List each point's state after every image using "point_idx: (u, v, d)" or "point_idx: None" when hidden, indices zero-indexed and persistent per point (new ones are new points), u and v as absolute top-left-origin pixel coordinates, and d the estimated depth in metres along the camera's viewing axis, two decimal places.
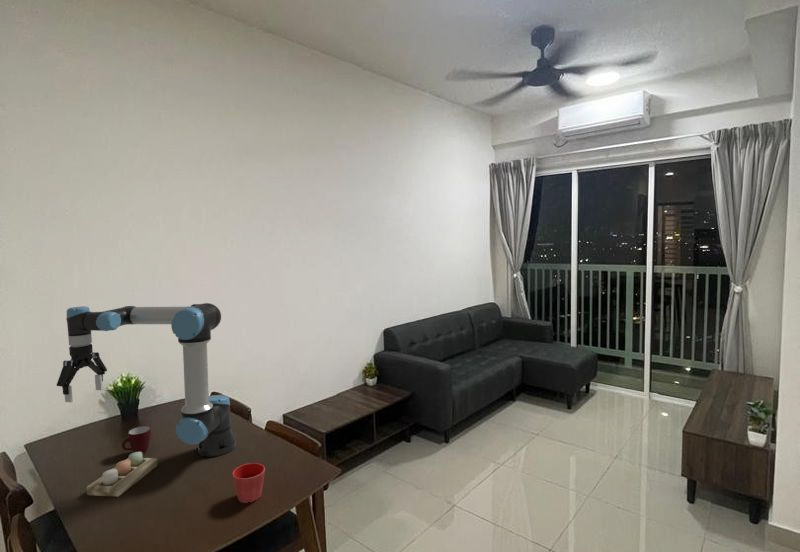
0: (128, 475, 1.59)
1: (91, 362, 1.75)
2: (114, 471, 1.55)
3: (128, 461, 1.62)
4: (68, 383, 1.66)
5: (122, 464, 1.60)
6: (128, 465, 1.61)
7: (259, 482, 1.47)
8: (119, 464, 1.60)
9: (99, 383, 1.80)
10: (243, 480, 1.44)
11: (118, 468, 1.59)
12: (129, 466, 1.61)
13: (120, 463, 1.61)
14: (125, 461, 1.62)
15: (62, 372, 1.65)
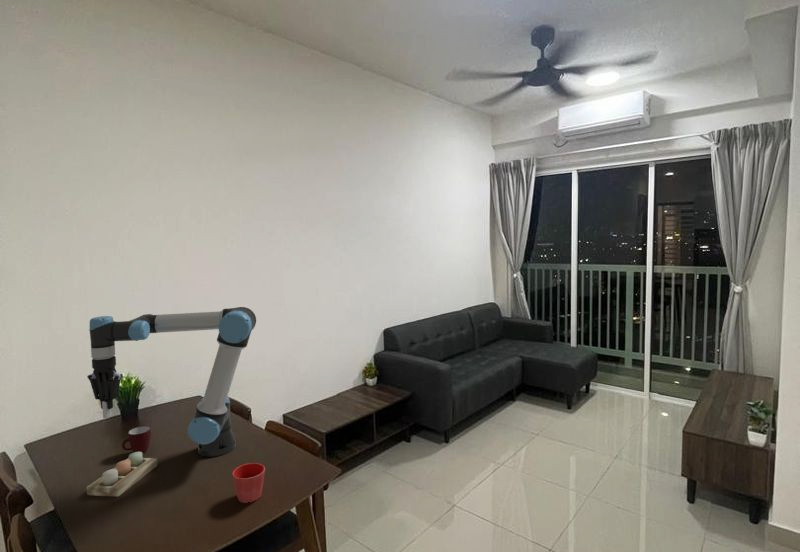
0: (128, 475, 1.59)
1: (104, 380, 1.61)
2: (114, 471, 1.55)
3: (128, 461, 1.62)
4: (100, 398, 1.62)
5: (122, 464, 1.60)
6: (128, 465, 1.61)
7: (259, 482, 1.47)
8: (119, 464, 1.60)
9: None
10: (243, 480, 1.44)
11: (118, 468, 1.59)
12: (129, 466, 1.61)
13: (120, 463, 1.61)
14: (125, 461, 1.62)
15: None
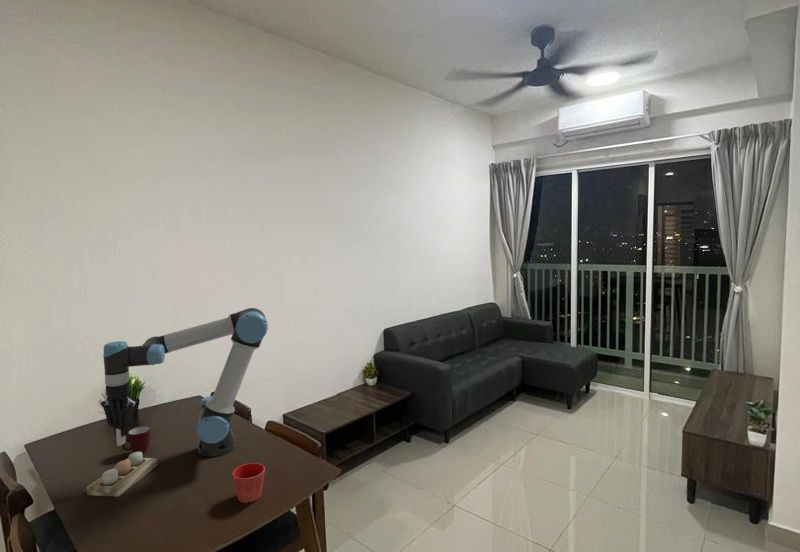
0: (128, 475, 1.59)
1: (118, 407, 1.57)
2: (114, 471, 1.55)
3: (128, 461, 1.62)
4: (114, 425, 1.59)
5: (122, 464, 1.60)
6: (128, 465, 1.61)
7: (259, 482, 1.47)
8: (119, 464, 1.60)
9: None
10: (243, 480, 1.44)
11: (118, 468, 1.59)
12: (129, 466, 1.61)
13: (120, 463, 1.61)
14: (125, 461, 1.62)
15: None
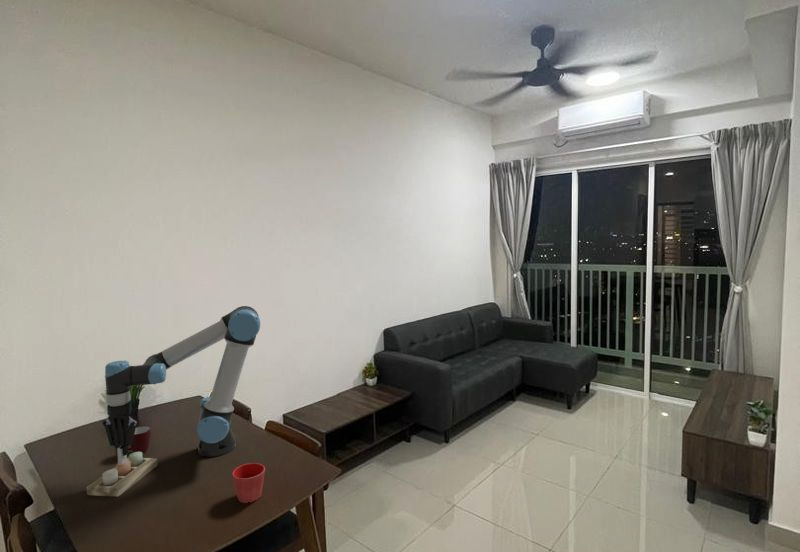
0: (128, 475, 1.59)
1: (120, 426, 1.58)
2: (114, 471, 1.55)
3: (128, 462, 1.62)
4: (115, 444, 1.59)
5: (122, 465, 1.60)
6: (128, 466, 1.61)
7: (259, 482, 1.47)
8: (119, 465, 1.60)
9: None
10: (243, 480, 1.44)
11: (118, 469, 1.59)
12: (129, 467, 1.61)
13: None
14: None
15: None
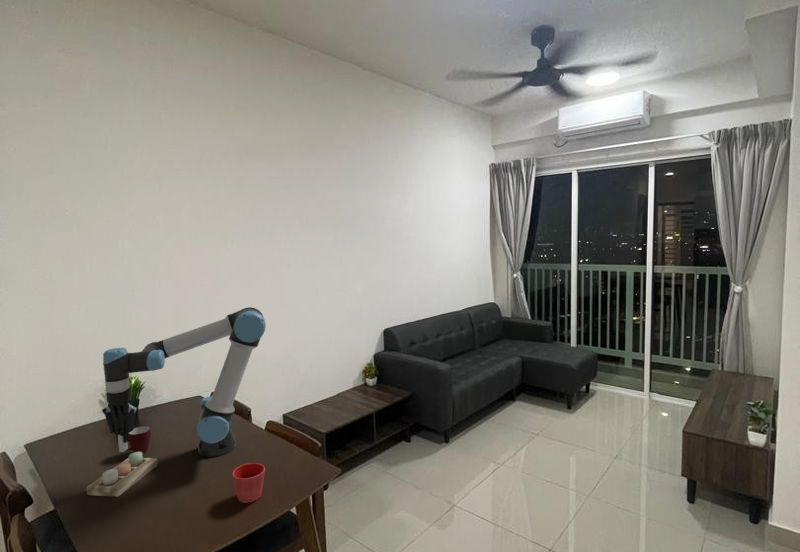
0: (128, 475, 1.59)
1: (120, 413, 1.58)
2: (114, 471, 1.55)
3: (128, 464, 1.62)
4: (116, 431, 1.59)
5: (123, 467, 1.60)
6: (128, 468, 1.61)
7: (259, 482, 1.47)
8: (119, 468, 1.60)
9: None
10: (243, 480, 1.44)
11: (118, 471, 1.59)
12: (129, 469, 1.61)
13: (120, 466, 1.61)
14: (125, 464, 1.62)
15: None
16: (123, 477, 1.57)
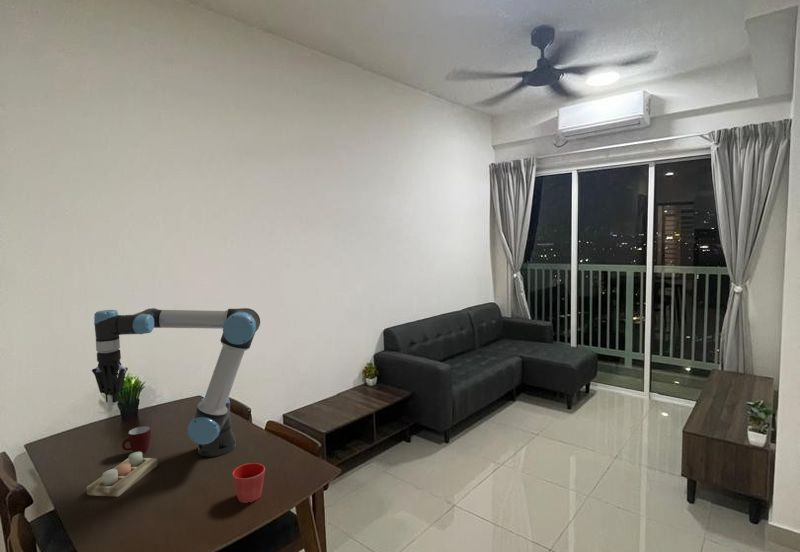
0: (128, 475, 1.59)
1: (109, 373, 1.61)
2: (114, 471, 1.55)
3: (128, 464, 1.62)
4: (105, 391, 1.63)
5: (123, 467, 1.60)
6: (128, 468, 1.61)
7: (259, 482, 1.47)
8: (119, 468, 1.60)
9: None
10: (243, 480, 1.44)
11: (118, 471, 1.59)
12: (129, 469, 1.61)
13: (120, 466, 1.61)
14: (125, 464, 1.62)
15: None
16: (123, 477, 1.57)
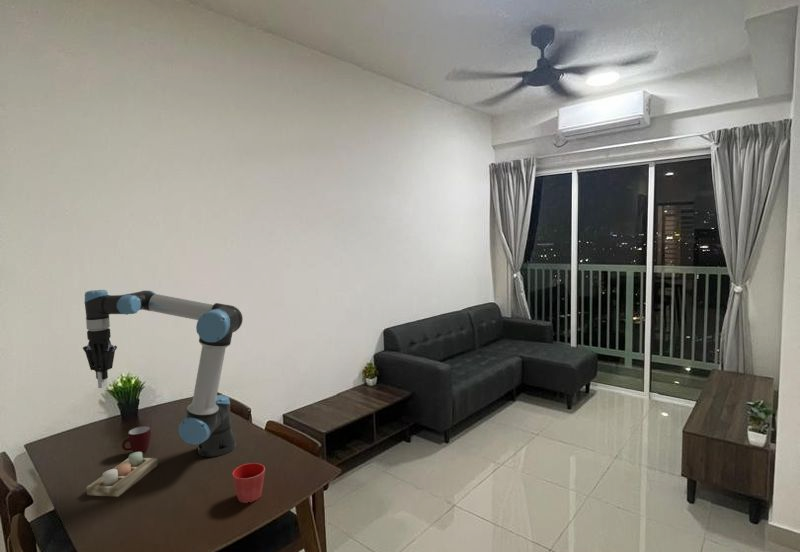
0: (128, 475, 1.59)
1: (99, 351, 1.67)
2: (114, 471, 1.55)
3: (128, 464, 1.62)
4: (95, 368, 1.69)
5: (123, 467, 1.60)
6: (128, 468, 1.61)
7: (259, 482, 1.47)
8: (119, 468, 1.60)
9: None
10: (243, 480, 1.44)
11: (118, 471, 1.59)
12: (129, 469, 1.61)
13: (120, 466, 1.61)
14: (125, 464, 1.62)
15: None
16: (123, 477, 1.57)
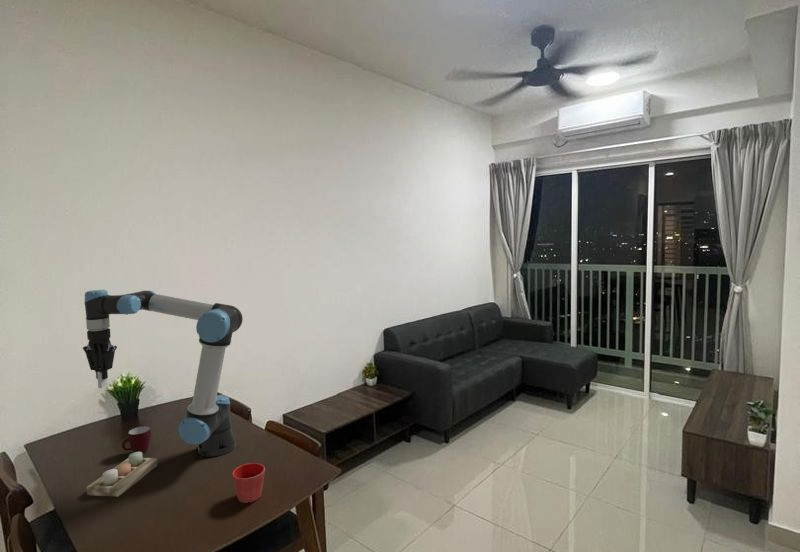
0: (128, 475, 1.59)
1: (99, 351, 1.67)
2: (114, 471, 1.55)
3: (128, 464, 1.62)
4: (95, 368, 1.69)
5: (123, 467, 1.60)
6: (128, 468, 1.61)
7: (259, 482, 1.47)
8: (119, 468, 1.60)
9: None
10: (243, 480, 1.44)
11: (118, 471, 1.59)
12: (129, 469, 1.61)
13: (120, 466, 1.61)
14: (125, 464, 1.62)
15: None
16: (123, 477, 1.57)
